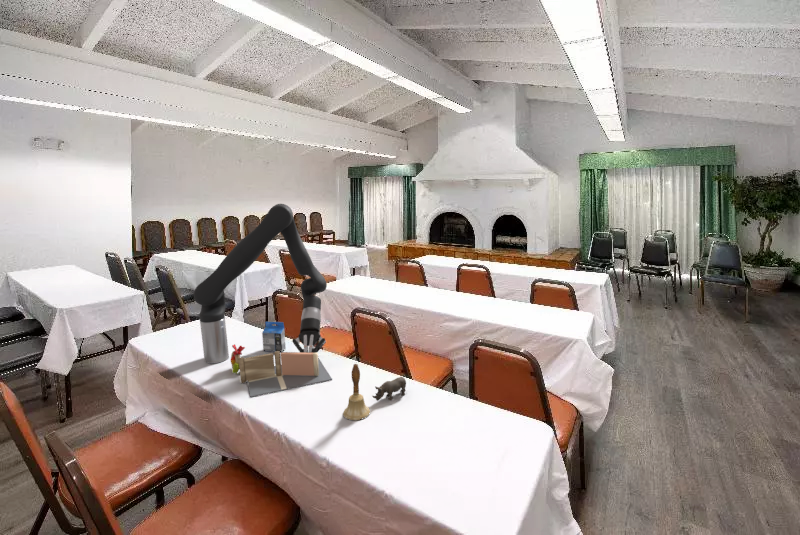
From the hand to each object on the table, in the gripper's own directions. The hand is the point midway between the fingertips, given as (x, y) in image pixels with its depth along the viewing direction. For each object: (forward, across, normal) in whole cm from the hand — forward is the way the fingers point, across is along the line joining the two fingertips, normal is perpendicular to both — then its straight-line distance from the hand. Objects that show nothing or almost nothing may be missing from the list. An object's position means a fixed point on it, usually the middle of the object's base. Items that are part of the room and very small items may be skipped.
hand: (307, 363), depth 149 cm
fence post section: (+5, -17, +1) cm, 17 cm away
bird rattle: (-1, -28, +8) cm, 29 cm away
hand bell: (+23, +20, -16) cm, 34 cm away
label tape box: (-15, -19, +22) cm, 33 cm away
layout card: (+3, -7, +3) cm, 9 cm away
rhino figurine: (+17, +30, -10) cm, 36 cm away
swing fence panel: (+3, -3, +2) cm, 5 cm away
